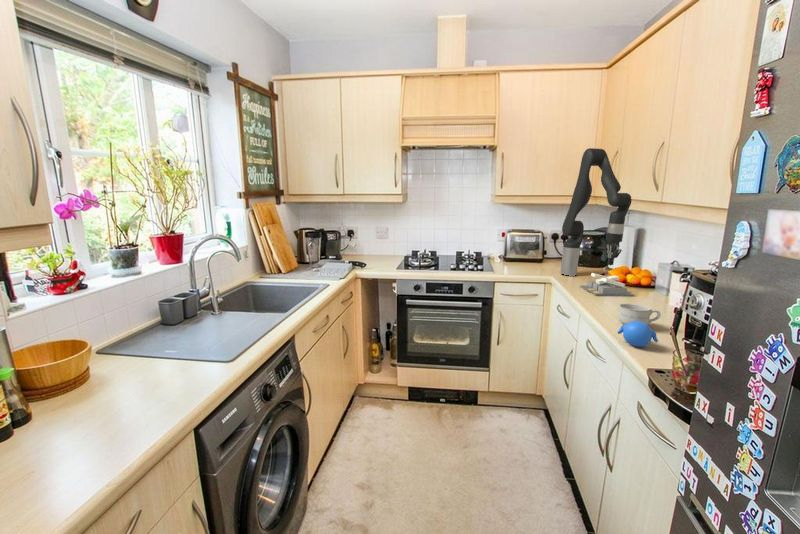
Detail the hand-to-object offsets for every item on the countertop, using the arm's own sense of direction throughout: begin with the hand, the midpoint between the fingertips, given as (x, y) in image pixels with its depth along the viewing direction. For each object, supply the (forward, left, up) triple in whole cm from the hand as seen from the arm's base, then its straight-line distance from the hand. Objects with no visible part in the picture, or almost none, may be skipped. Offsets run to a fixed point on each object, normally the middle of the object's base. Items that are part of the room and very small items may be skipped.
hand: (610, 264), depth 204 cm
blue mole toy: (+74, -30, -13) cm, 81 cm away
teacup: (+57, -19, -13) cm, 62 cm away
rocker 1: (0, -4, -7) cm, 8 cm away
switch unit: (+6, -4, -13) cm, 15 cm away
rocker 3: (+11, -4, -7) cm, 14 cm away
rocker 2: (+6, -4, -7) cm, 10 cm away
